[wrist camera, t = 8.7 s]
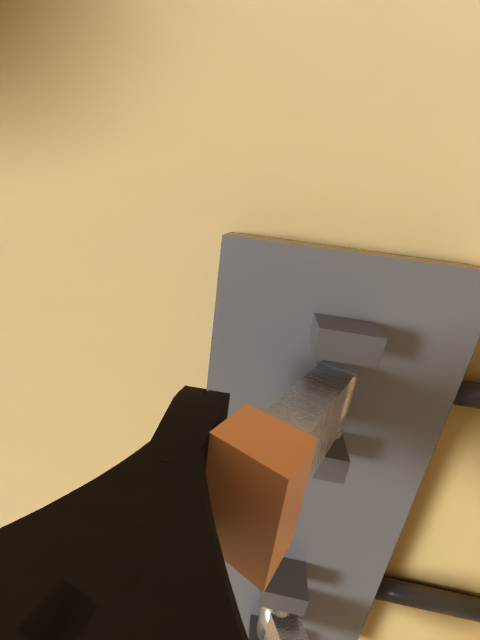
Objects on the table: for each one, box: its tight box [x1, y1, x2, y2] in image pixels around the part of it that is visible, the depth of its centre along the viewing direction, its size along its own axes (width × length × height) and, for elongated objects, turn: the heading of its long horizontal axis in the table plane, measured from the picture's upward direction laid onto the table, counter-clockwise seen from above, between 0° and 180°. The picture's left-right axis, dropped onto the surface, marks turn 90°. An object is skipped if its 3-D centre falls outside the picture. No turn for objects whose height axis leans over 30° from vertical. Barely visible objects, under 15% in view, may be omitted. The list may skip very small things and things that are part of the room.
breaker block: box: [207, 232, 480, 640], centre depth 14 cm, size 16×22×4 cm
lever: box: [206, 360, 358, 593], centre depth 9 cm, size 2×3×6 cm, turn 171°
